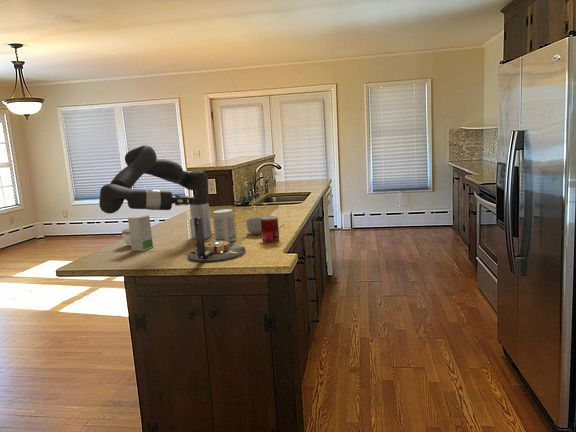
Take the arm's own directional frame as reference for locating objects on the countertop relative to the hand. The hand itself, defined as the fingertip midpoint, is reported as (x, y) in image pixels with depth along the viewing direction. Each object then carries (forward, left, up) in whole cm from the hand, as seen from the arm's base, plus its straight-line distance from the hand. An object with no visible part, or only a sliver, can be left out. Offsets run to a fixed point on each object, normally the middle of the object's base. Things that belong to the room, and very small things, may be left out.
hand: (200, 200), depth 178 cm
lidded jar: (-58, +18, -25) cm, 66 cm away
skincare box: (-47, +12, -25) cm, 55 cm away
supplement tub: (-16, +35, -25) cm, 46 cm away
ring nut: (-3, +8, -23) cm, 24 cm away
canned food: (+6, +40, -25) cm, 48 cm away
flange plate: (-4, +12, -25) cm, 28 cm away
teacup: (-8, +54, -25) cm, 60 cm away
